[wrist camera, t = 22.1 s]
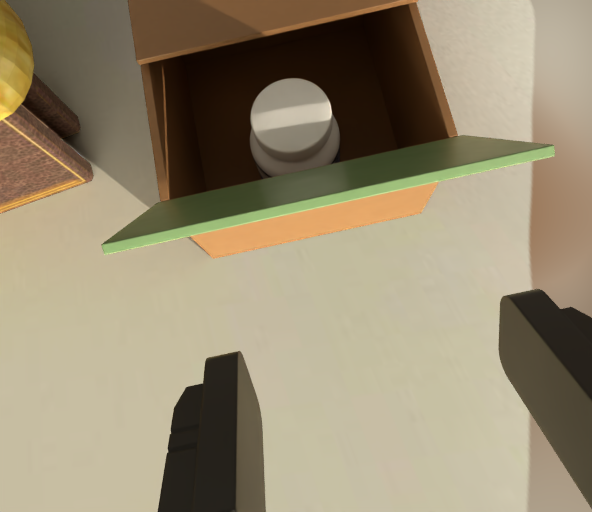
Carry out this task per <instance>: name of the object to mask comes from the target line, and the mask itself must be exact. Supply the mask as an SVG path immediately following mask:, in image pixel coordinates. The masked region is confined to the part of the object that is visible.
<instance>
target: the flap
mask: <svg viewBox="0 0 592 512" xmlns="http://www.w3.org/2000/svg"><path fill="white" fill-rule="evenodd" d="M554 152H555V151H554V145H549V144H540V143H531V142H522V141H512V140H503V139H494V138H484V137H475V136H466V135H461V136H457V137H452V138H448V139H443V140H439V141H434V142H430V143H425V144H421V145H416V146H412V147H407V148H403V149H398V150H394V151H389V152H385V153H380V154H376V155H371V156H367V157H362V158H358V159H353V160H348V161H344V162H339V163H335V164H330V165H326V166H321V167H317V168H312V169H308V170H303V171H299V172H294V173H290V174H285V175H281V176H276V177H272V178H267V179H263V180H258V181H254V182H249V183H245V184H240V185H236V186H231V187H227V188H222V189H217V190H213V191H208V192H204V193H199V194H195V195H190V196H186V197H181V198H177V199H172V200H168V201H163V202H159V203H157V204H155V205H154V206H153V207H151V208H150V209H149V210H147V211H146V212H145V213H143V214H142V215H141V216H139V217H138V218H137V219H135V220H134V221H133V222H131V223H130V224H128V225H127V226H126V227H124V228H123V229H122V230H120V231H119V232H118V233H116V234H115V235H114V236H112V237H111V238H110V239H108V240H107V241H106V242H104V243H103V244H102V248H103V251H104V254H105V255H107V254H112V253H116V252H121V251H125V250H130V249H134V248H139V247H143V246H148V245H152V244H157V243H162V242H166V241H171V240H175V239H180V238H184V237H189V236H193V235H198V234H203V233H207V232H212V231H216V230H221V229H225V228H230V227H234V226H239V225H244V224H248V223H253V222H257V221H262V220H266V219H271V218H275V217H280V216H285V215H289V214H294V213H298V212H303V211H307V210H312V209H316V208H321V207H326V206H330V205H335V204H339V203H344V202H348V201H353V200H357V199H362V198H367V197H371V196H376V195H380V194H385V193H389V192H394V191H398V190H403V189H408V188H412V187H417V186H421V185H426V184H430V183H435V182H439V181H444V180H449V179H453V178H458V177H462V176H467V175H471V174H476V173H480V172H485V171H489V170H494V169H499V168H503V167H508V166H512V165H517V164H521V163H526V162H530V161H535V160H539V159H544V158H548V157H553V156H554V155H555V153H554Z"/></svg>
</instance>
